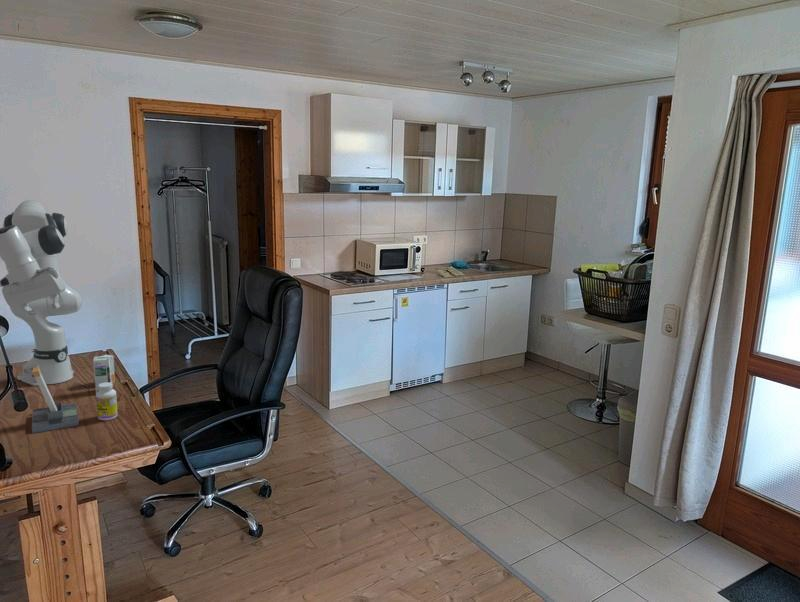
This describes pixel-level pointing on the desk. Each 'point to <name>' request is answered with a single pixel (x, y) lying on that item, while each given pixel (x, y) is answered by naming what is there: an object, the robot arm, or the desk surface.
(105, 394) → the supplement bottle
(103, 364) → the syrup box
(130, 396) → the desk surface
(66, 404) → the pair of grey rods
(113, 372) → the skincare box
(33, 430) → the breaker panel
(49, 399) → the lever
